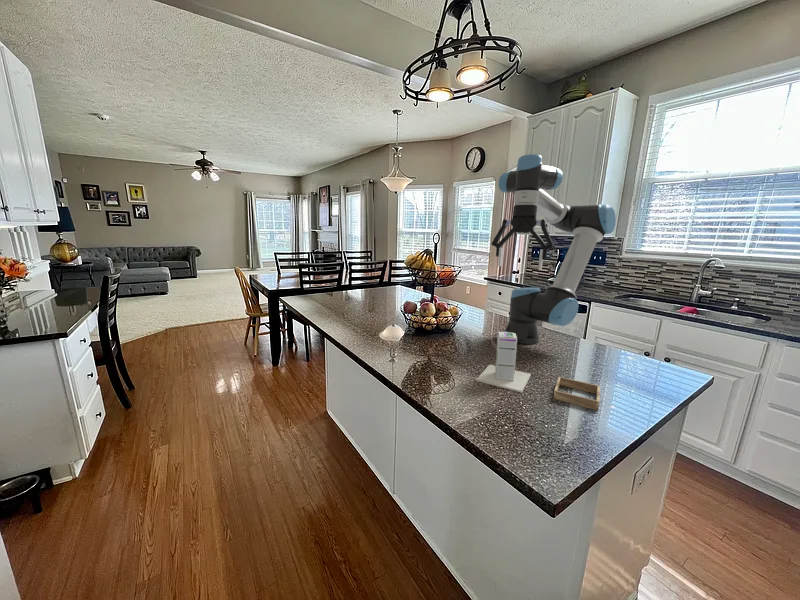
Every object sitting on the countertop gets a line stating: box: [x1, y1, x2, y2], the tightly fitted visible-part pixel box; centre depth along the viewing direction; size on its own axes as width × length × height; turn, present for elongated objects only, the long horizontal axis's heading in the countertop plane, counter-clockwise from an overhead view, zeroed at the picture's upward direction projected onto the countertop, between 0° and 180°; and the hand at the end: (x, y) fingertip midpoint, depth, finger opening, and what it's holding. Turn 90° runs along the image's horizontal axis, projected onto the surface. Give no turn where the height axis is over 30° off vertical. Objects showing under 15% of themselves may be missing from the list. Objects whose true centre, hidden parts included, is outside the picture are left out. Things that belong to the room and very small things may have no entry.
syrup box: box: [494, 331, 518, 381], centre depth 105 cm, size 6×6×14 cm
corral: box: [552, 376, 601, 411], centre depth 96 cm, size 11×11×2 cm
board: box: [476, 364, 532, 394], centre depth 107 cm, size 14×14×1 cm
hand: (519, 267), depth 114 cm, fingers open, 13 cm apart
